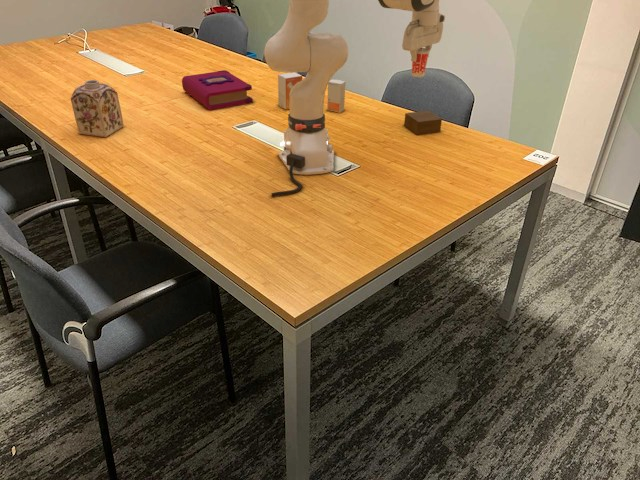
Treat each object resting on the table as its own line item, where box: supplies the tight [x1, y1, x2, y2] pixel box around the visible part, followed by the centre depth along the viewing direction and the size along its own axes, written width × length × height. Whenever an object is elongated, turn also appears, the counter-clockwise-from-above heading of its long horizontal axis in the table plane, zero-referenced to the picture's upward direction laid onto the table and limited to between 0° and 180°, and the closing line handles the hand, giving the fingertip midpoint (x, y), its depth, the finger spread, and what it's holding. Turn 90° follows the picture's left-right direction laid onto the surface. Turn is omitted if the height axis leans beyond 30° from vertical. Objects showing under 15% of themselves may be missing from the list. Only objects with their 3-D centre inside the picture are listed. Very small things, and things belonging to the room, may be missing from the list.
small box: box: [277, 72, 303, 110], centre depth 216 cm, size 8×6×13 cm
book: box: [181, 69, 254, 111], centre depth 225 cm, size 21×28×8 cm
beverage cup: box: [411, 47, 431, 78], centre depth 187 cm, size 6×6×14 cm
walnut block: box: [403, 110, 443, 136], centre depth 199 cm, size 10×10×5 cm
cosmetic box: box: [326, 78, 347, 114], centre depth 213 cm, size 6×4×12 cm
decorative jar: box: [70, 79, 125, 138], centre depth 189 cm, size 12×12×18 cm
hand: (419, 59), depth 188 cm, fingers closed on beverage cup, 6 cm apart
